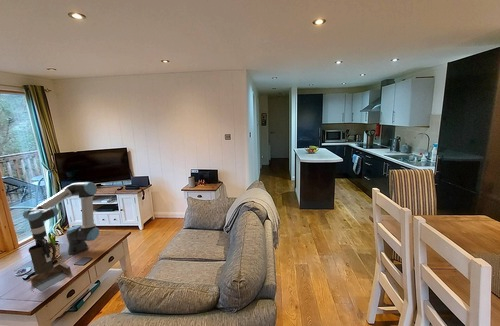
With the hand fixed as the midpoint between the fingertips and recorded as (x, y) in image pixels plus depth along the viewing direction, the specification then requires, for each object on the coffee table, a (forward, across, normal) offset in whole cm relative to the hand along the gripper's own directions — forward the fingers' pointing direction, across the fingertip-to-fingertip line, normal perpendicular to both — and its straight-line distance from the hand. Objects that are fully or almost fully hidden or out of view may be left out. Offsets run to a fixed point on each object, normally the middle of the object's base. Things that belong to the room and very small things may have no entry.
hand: (45, 259), depth 173 cm
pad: (+18, 0, 0) cm, 18 cm away
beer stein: (+7, 0, 0) cm, 7 cm away
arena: (+18, -3, +2) cm, 19 cm away
